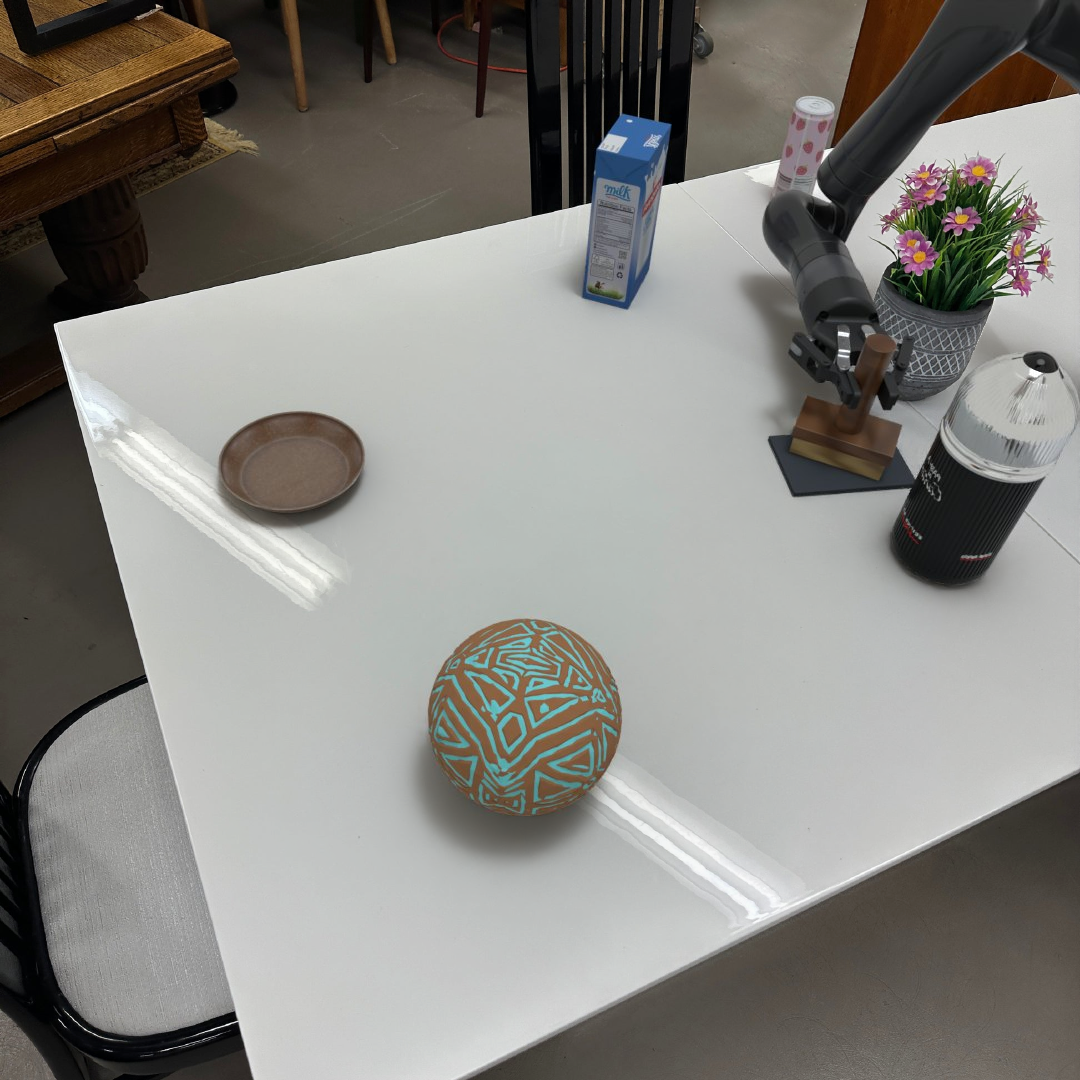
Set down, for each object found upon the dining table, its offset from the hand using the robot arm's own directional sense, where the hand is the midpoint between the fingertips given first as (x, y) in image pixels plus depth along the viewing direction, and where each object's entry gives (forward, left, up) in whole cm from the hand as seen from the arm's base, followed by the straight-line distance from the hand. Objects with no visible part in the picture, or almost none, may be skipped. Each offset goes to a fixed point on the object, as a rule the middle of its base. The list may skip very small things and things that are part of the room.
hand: (872, 402), depth 97 cm
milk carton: (+18, -38, -11) cm, 43 cm away
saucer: (+59, -6, -11) cm, 60 cm away
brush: (0, -3, -10) cm, 10 cm away
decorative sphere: (+40, +30, -11) cm, 51 cm away
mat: (0, -2, -11) cm, 11 cm away
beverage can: (-12, -56, -11) cm, 58 cm away
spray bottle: (-6, +12, -11) cm, 17 cm away
